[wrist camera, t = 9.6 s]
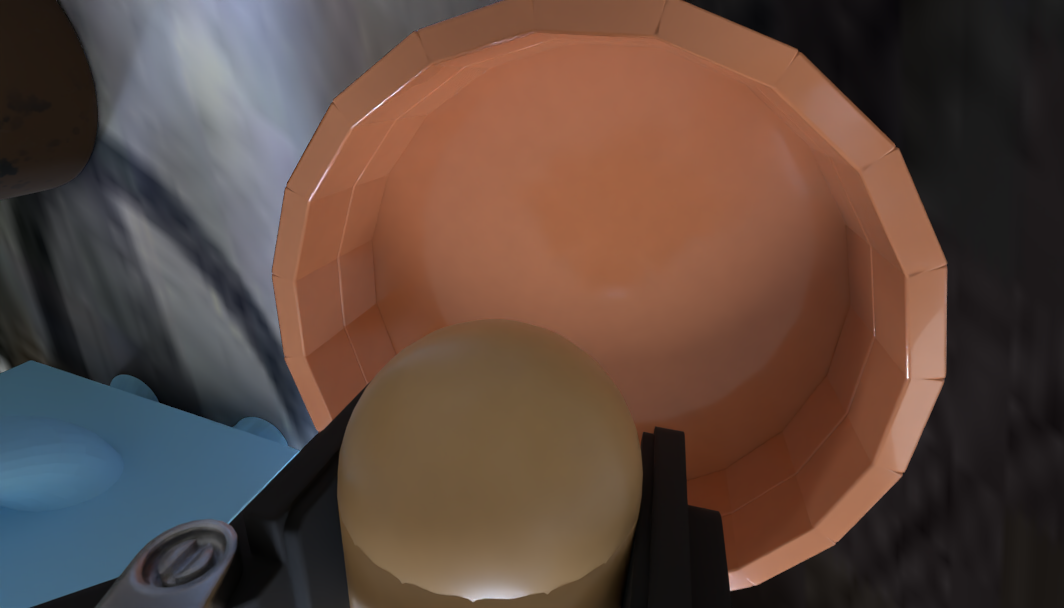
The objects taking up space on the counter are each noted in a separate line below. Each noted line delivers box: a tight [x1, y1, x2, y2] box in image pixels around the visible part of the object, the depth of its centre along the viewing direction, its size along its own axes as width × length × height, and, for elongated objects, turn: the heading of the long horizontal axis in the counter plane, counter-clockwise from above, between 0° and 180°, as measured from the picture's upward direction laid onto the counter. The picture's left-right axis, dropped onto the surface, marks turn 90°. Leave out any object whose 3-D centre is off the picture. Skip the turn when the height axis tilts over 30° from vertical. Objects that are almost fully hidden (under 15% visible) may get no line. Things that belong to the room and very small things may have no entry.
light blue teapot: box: [0, 360, 300, 608], centre depth 21 cm, size 19×19×15 cm
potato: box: [337, 319, 643, 608], centre depth 9 cm, size 8×5×5 cm, turn 177°
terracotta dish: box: [272, 0, 947, 591], centre depth 17 cm, size 18×18×5 cm
